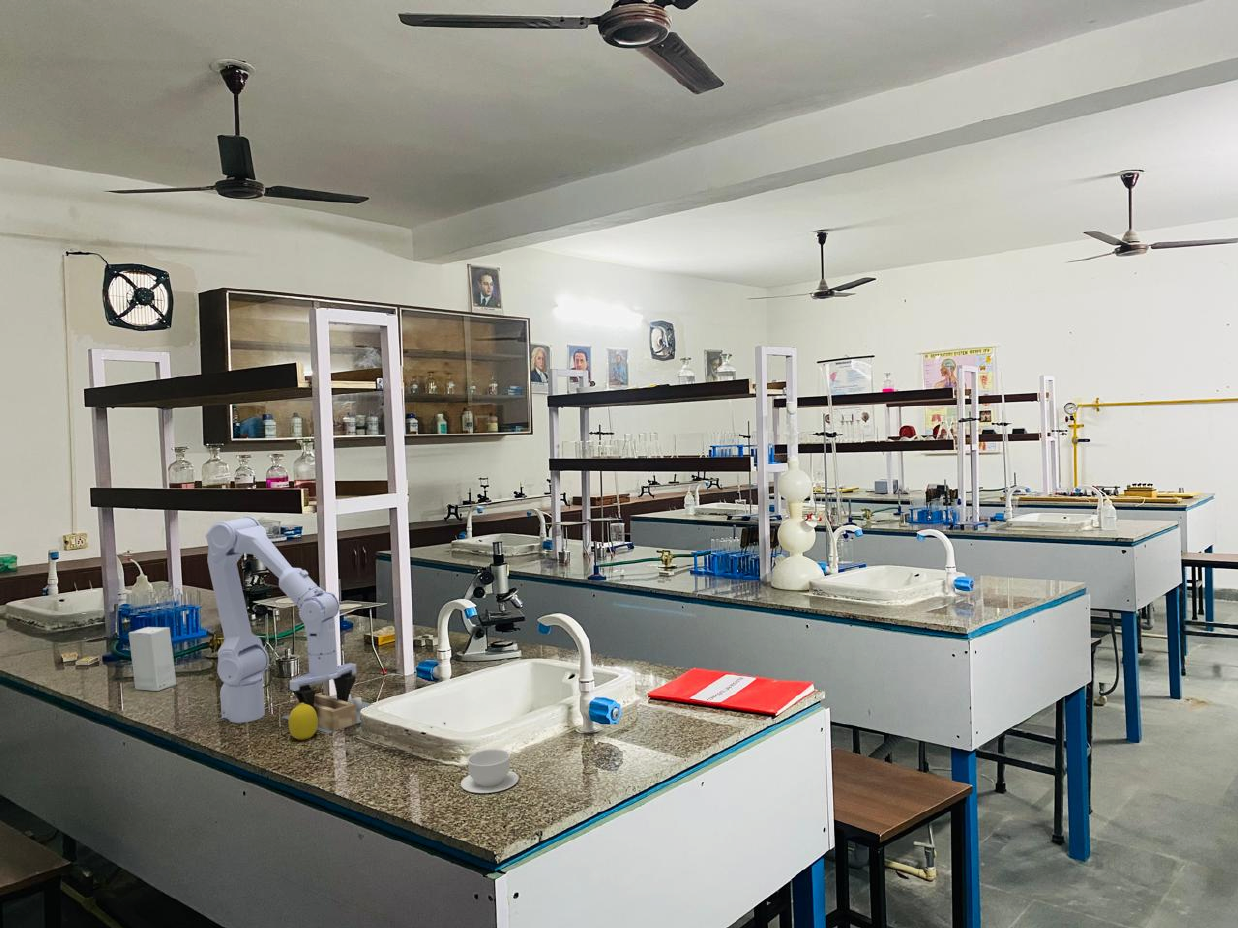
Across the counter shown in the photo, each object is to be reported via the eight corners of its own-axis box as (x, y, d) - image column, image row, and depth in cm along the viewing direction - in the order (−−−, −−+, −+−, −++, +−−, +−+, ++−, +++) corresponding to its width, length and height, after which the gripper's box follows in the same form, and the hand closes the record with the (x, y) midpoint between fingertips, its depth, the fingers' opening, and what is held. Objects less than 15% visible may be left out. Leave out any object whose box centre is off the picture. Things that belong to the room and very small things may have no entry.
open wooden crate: (296, 718, 185) (295, 700, 185) (319, 711, 189) (318, 693, 189) (334, 731, 176) (332, 711, 176) (357, 723, 180) (355, 704, 180)
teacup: (504, 797, 144) (503, 770, 144) (450, 793, 147) (449, 766, 146) (527, 773, 153) (526, 747, 153) (476, 769, 156) (475, 744, 156)
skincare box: (177, 685, 218) (172, 626, 217) (155, 692, 213) (151, 632, 212) (153, 682, 221) (149, 625, 221) (132, 689, 216) (127, 630, 215)
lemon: (284, 744, 173) (281, 704, 173) (307, 735, 178) (305, 696, 177) (301, 749, 170) (298, 709, 169) (325, 739, 174) (322, 700, 174)
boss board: (281, 721, 187) (280, 705, 186) (346, 700, 199) (345, 685, 199) (328, 737, 175) (327, 720, 175) (394, 714, 188) (393, 699, 188)
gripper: (301, 662, 174) (305, 729, 175) (363, 645, 185) (367, 708, 186) (282, 657, 178) (286, 722, 179) (344, 641, 190) (348, 702, 190)
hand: (326, 715), depth 183 cm, fingers open, 7 cm apart
